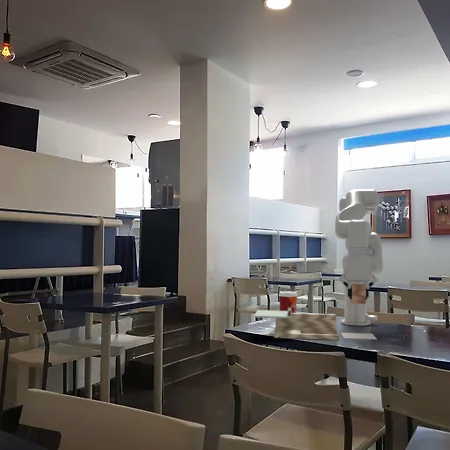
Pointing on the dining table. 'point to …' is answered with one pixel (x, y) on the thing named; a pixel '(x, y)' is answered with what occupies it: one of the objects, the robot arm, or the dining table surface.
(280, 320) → the wooden box
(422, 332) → the dining table surface
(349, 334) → the grey mat
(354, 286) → the terracotta block
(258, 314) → the sliding lid
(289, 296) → the coffee cup
